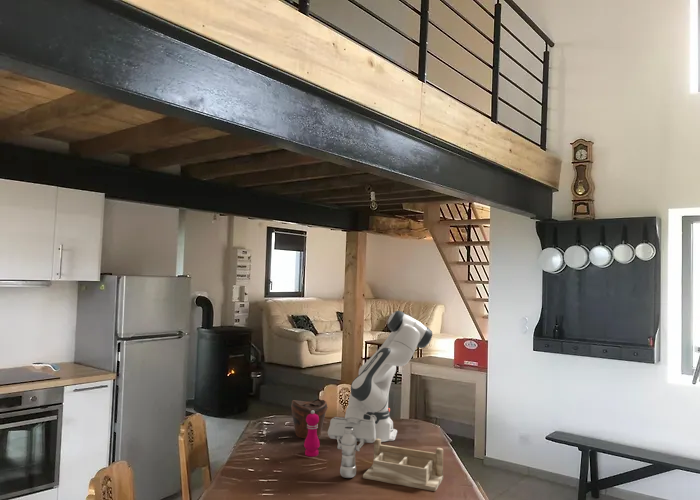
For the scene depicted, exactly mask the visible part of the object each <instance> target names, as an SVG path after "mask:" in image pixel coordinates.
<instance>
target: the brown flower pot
mask: <svg viewBox="0 0 700 500" xmlns="http://www.w3.org/2000/svg"><path fill="white" fill-rule="evenodd" d="M290 408H291V410H290V411H291V415H292V421H293V426H294V434H295V436H296V437H298V438H303V439H306V437H307V434H308V428H307V424H308V423H307V422H306V417H307V415H309V414H311V411H312V410H314V411H315V413H314V414H317V415H318V417H319V422H318V423H317V424H318V428H317V436H318V437H320V436H321V434H322V430H323V425H324V421H325V417H326V413H327V410H328V404H327V401H326V400H325V399H320V398H317V399H315V400H309V401H307V400H305V401H303V400H295V399H292V401H291V407H290Z"/></svg>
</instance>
